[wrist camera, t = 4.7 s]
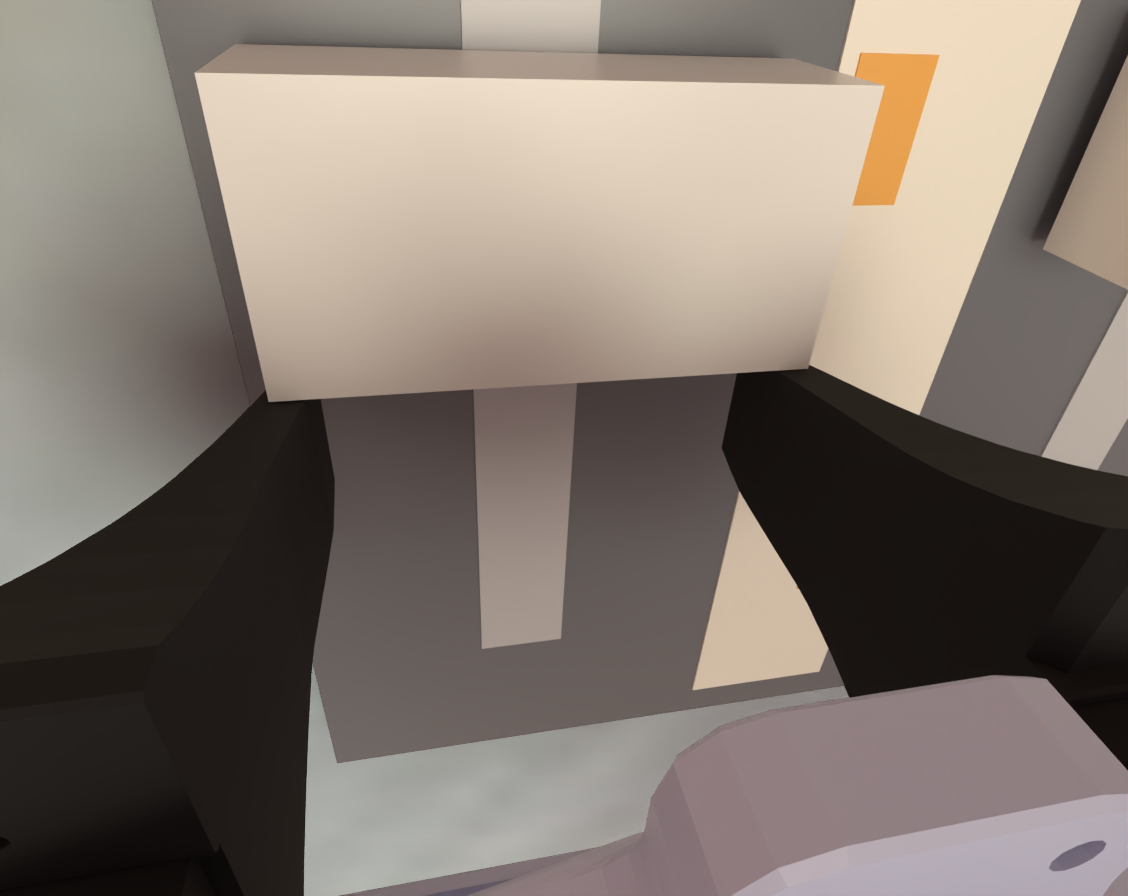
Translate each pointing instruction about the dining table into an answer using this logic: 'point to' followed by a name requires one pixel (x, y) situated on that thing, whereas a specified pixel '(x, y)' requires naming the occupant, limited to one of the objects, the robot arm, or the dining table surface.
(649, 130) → the front slider
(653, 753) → the dining table surface
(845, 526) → the robot arm
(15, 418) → the dining table surface
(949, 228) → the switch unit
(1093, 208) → the rear slider
